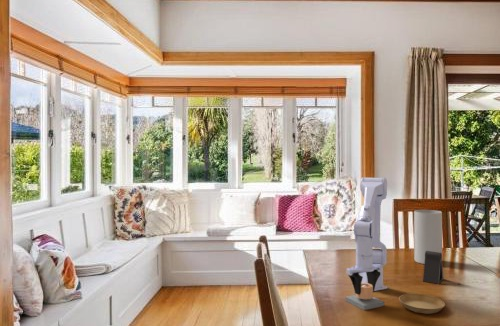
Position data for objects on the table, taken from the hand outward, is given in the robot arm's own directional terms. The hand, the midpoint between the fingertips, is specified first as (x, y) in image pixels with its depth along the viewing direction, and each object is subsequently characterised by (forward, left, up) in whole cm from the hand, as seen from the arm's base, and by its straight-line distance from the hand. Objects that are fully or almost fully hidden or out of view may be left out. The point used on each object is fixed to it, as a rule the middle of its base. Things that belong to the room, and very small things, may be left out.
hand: (364, 292), depth 145 cm
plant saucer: (+12, +15, -4) cm, 20 cm away
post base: (0, 0, -4) cm, 4 cm away
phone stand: (-8, +44, -4) cm, 45 cm away
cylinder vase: (-30, +66, -4) cm, 73 cm away
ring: (0, 0, -1) cm, 1 cm away
